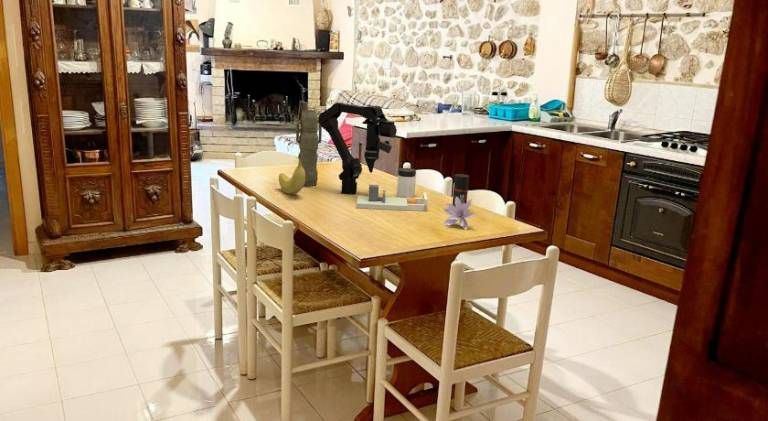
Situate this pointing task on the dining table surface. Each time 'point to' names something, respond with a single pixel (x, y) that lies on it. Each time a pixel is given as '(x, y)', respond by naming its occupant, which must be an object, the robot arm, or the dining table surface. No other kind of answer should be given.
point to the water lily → (458, 213)
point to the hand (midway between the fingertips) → (371, 170)
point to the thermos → (309, 145)
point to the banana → (293, 179)
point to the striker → (375, 193)
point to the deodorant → (460, 188)
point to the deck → (382, 203)
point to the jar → (406, 182)
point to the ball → (412, 201)
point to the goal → (419, 204)
